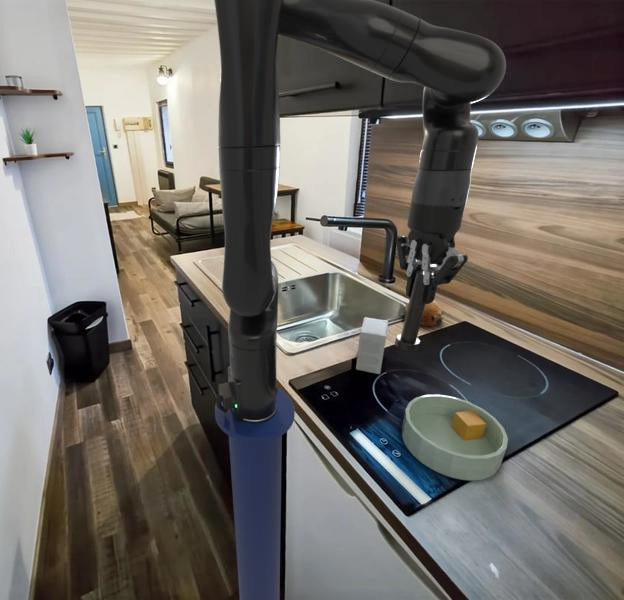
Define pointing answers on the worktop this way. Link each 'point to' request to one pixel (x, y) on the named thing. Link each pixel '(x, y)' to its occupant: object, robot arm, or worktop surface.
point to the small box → (371, 345)
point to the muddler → (412, 318)
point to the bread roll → (430, 314)
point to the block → (468, 425)
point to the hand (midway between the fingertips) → (418, 299)
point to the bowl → (452, 438)
